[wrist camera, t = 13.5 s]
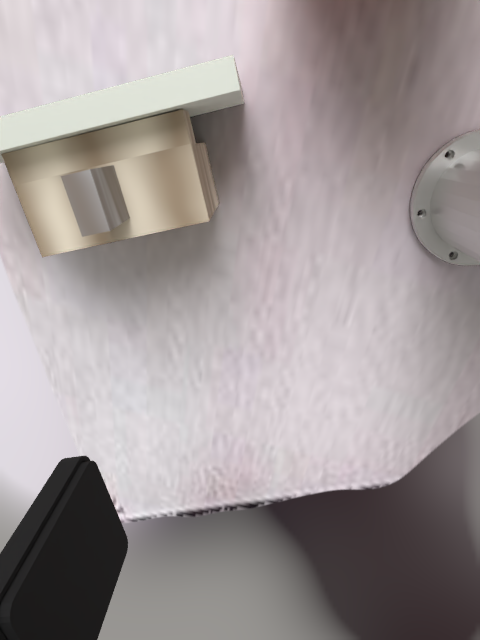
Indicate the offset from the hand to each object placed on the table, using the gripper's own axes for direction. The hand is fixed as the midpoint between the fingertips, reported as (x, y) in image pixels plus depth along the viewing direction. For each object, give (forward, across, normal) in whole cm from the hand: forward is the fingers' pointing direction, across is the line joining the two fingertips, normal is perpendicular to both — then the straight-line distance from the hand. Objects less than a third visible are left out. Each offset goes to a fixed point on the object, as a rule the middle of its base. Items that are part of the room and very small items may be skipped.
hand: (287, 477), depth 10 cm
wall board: (+35, +12, -12) cm, 39 cm away
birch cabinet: (+35, +12, -6) cm, 38 cm away
